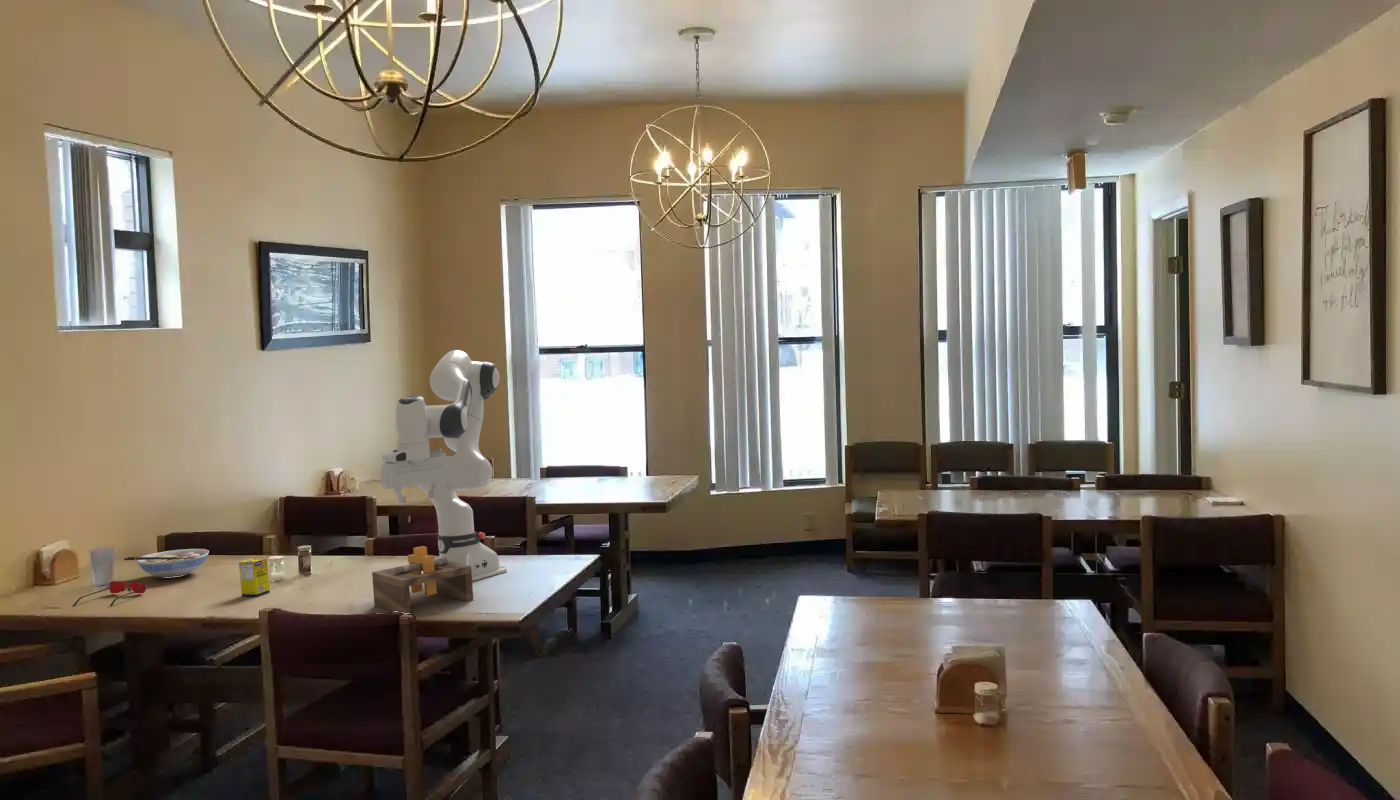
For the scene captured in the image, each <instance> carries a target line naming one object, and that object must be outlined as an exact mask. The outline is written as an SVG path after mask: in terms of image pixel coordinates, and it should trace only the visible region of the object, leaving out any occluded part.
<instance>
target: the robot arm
mask: <svg viewBox="0 0 1400 800" xmlns="http://www.w3.org/2000/svg"><path fill="white" fill-rule="evenodd" d="M499 384H500V372H499V369H498V366H497V365H496V364H495V363H493V362H488V361H478V360H477V361H475V360H472V359H471V357H470V356H469V354H468V353H466V352H465V351H463V350H459V349H453V350H450V351H448V352H447V353H446V354H444V355H443V356H442V357H441V358H440V359H439V361H438V362H437V363H436V365H435V366H433V370H432V371H431V373H430V377H429V386H430V388H431V391H432V392H433V393H434V395H435V396H436V397H438V398H439V399H441V400H444V401H449V402H453V403H450V404H438V405H437V404H435V405H427V404H426V403H425V398H424V397H423V396H420V395H410V396H405V397H402V398H399V399H398V400H397V403H396V413H395V416H396V418H395V420H396V421H395V422H396V423H395V425H396V431H397V434H398V435H397V436H398V439H397V447H396V448H393V449H392V450H390V451H389V450H388V451H387V452H385V453H384V454H382V456H381V459H382V461H383V464H382V465H381V468H380V469H381V470H380V484H381V486H382V487H383V488H384V489H386V490H387V489H388V490H391V489H393V491H394V493H395V495H396V496H397V497H398V498H397V499H398V503H400V504H402V503H407V496H405V495H403V493H402V491H403V488H405V487H409V486H410V487H411V486H412V487H413V486H417V487H418V488H419V489H420V490H422V491H423V492H424V493H425V494H426V495H427V497H428V499H430V500H431V501H432V504H433V506H434V508H435V511H436V512H435V513H436V516H437V525H438V534H437V545H438V548H437V549H438V553H439V557H438V559H440V558H445V557H446V558H447V560H448V561H451V562H456V563H460V564H464V565H469V566H471V571H472V582H473V581H478V580H482V579H485V578H488V577H492V576H495V575H499V574H502V573H506V572H508V570H507V567H506V566H504V565H501V564H500V561H499V560H500V559H499V556H498V554H497V552H496V551H494V550H493V549H491V548H490V547H488V546H487V545H484V543H482V542H480V541H481V540H484V539H486V533H485V532H482V531H479V532H477V531H475V526H474V510H473V509H472V507H471V506H470V504H469V503H467V502H465V501H464V500H462V499H460V498H459V496H458V495H457V492H456V491H475V490H479V489H482V488H487V487H488V486H489V484H490V483H491V481H492V479H493V466H492V464H491V463H490V460H488V459H487V458H486V457H485V456H483V454H482V452H481V451H480V447H479V442H480V437H481V430H482V427H483V426H482V425H483V421H484V409H485V408H484V405H485V404H484V400H485V401H486V400H489V398H490V396H492V395H493V394H494V393H495V391H496V390H497V389H498V387H499ZM439 438H443V440H444V444H445V445H446V446H447V447H448V448H449V449H450V450H451V451H453V452H455V454H454V455H452V456H451V455H449V456H448V455H447V453H446V452H445V450H442V449H440V448H439V449H435V450H434V449H433V450H431V449H430V439H439ZM480 539H481V540H480Z"/></svg>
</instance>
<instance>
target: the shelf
mask: <svg viewBox="0 0 1400 800" xmlns="http://www.w3.org/2000/svg"><path fill="white" fill-rule="evenodd" d="M434 560H435V563H434V568H435V571H433V572H429V573H424V574H423V573H421V574H416V573H413V572H411V571H415V570H420V569H421V572H423V564H419V563H415V564H410V565H409V564H405V565H400V566H396V567H392V568H387V569H386V568H385V569H382V570H376V571H372V572H371V574H372V575H371V577H372V587H373V588H372V589H373V603H374V605H373V606H374V607H375V608H378V609H383V610H386V611H389V612H391V611H398V612H404V613H411V614H412V605H411V593H410V592H411V589H410V588H411V586H412V585H417V584H422V585H423V584H424V583H426V582H431V581H436V591H437V593H436V594H440V595H443V594H444V595H443V596H446V595H447V597H450V596H451V598H454V599H457V598H458V600H461V599H462V601H466V602H470V601H469V600H471V601H474V591H473V581H472V571H471V566H469V565H464V564H460V563H456V562H451V561H448V560H447V558H446V557H445V558H440V559H439V558H436V559H435V558H434Z"/></svg>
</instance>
